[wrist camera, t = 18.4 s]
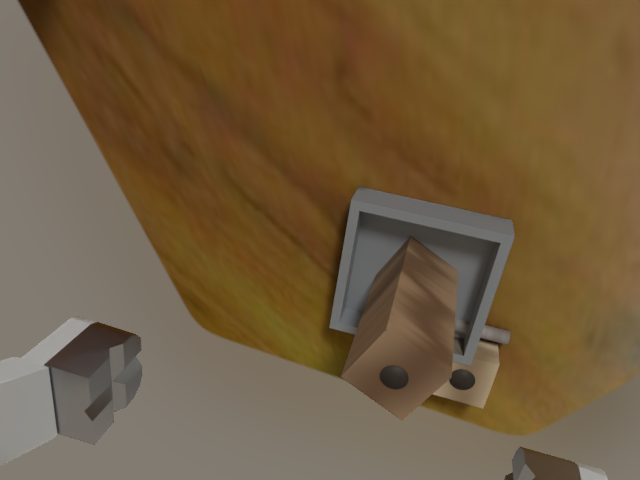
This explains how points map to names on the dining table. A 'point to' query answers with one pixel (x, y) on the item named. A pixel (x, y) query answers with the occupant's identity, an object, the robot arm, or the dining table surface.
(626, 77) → the dining table surface
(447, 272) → the block
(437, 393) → the block
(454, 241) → the tray
